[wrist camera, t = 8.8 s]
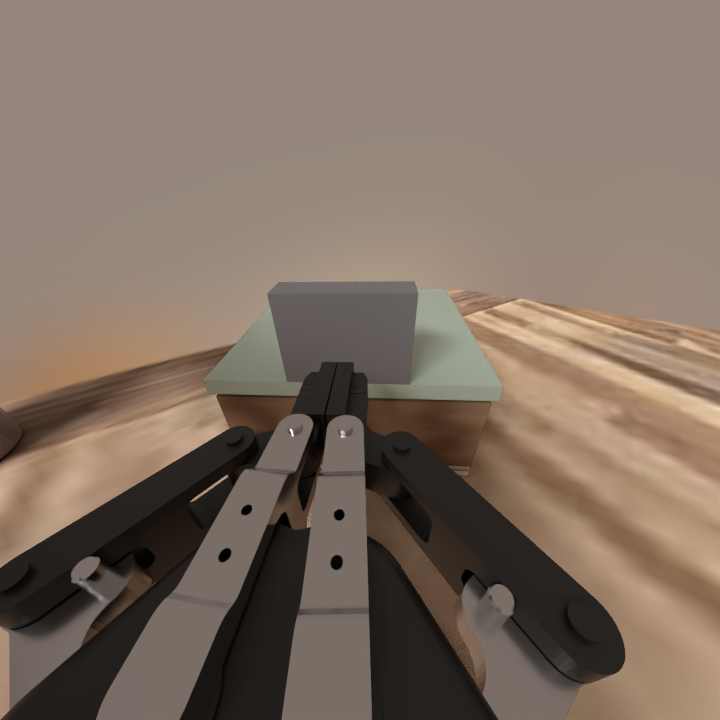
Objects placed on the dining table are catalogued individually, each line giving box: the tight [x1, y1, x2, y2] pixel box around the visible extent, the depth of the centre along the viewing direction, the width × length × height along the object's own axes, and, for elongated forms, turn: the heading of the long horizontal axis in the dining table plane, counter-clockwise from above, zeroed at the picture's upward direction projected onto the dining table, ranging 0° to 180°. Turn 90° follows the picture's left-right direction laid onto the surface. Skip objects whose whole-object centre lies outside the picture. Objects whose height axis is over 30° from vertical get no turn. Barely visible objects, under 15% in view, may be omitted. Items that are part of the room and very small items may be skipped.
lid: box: [203, 282, 503, 401], centre depth 24 cm, size 20×18×7 cm
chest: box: [216, 394, 491, 476], centre depth 28 cm, size 19×18×8 cm
